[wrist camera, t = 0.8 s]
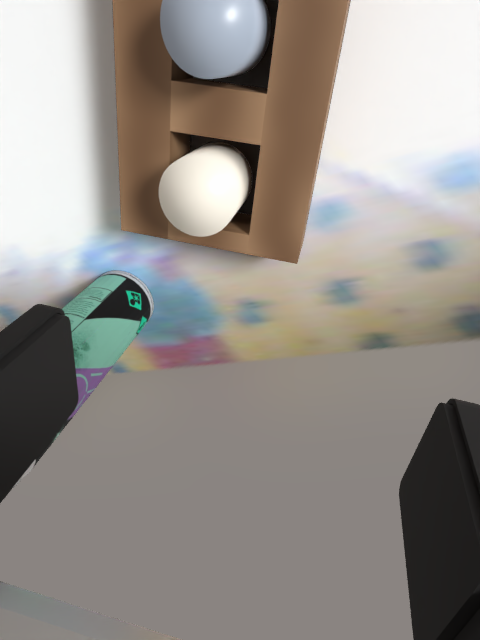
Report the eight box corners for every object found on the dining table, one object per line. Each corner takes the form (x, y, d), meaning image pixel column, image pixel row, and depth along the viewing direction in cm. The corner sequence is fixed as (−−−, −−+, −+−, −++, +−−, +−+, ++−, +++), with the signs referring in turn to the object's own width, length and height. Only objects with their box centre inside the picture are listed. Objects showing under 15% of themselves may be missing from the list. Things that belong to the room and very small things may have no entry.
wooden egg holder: (407, -289, 18) (419, -366, 15) (303, 241, 31) (296, 263, 28) (141, -296, 20) (98, -367, 17) (145, 212, 33) (121, 230, 29)
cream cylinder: (256, 147, 27) (239, 163, 23) (248, 217, 29) (231, 243, 25) (187, 136, 27) (158, 150, 23) (184, 206, 29) (158, 229, 25)
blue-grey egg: (276, -17, 22) (259, -33, 18) (264, 80, 25) (247, 85, 21) (194, -26, 23) (160, -44, 19) (190, 70, 25) (159, 72, 21)
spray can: (105, 327, 39) (-79, 527, 23) (85, 272, 37) (-140, 450, 20) (161, 325, 38) (8, 538, 21) (144, 267, 35) (-46, 456, 18)
